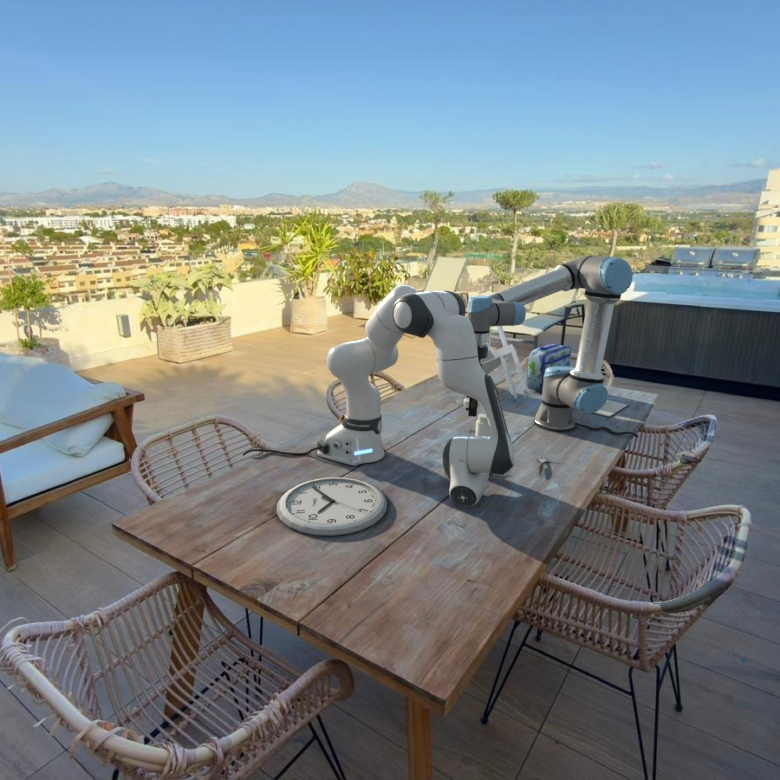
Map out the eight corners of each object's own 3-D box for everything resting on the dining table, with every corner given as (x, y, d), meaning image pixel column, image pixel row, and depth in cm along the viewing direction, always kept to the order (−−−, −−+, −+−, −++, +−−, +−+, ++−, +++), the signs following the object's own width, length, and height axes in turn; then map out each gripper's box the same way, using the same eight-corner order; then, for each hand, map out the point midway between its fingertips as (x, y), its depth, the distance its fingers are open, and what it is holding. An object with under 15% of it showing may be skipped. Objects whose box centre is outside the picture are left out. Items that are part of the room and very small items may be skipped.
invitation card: (608, 416, 214) (573, 407, 224) (608, 416, 214) (573, 408, 224) (628, 404, 229) (594, 396, 238) (628, 405, 229) (594, 397, 238)
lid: (472, 409, 170) (472, 403, 170) (459, 405, 174) (460, 399, 174) (482, 406, 174) (483, 400, 173) (470, 402, 178) (471, 396, 177)
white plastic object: (461, 429, 252) (437, 405, 227) (444, 352, 274) (420, 323, 250) (535, 404, 240) (518, 377, 215) (510, 326, 262) (492, 293, 237)
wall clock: (392, 527, 129) (268, 531, 127) (391, 533, 130) (269, 537, 127) (383, 473, 158) (282, 475, 155) (383, 478, 158) (282, 480, 156)
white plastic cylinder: (485, 469, 165) (489, 412, 160) (490, 476, 161) (495, 417, 155) (470, 470, 165) (474, 413, 159) (475, 477, 160) (480, 418, 154)
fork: (535, 475, 162) (535, 469, 161) (539, 455, 176) (540, 450, 175) (543, 477, 161) (544, 471, 160) (547, 456, 175) (548, 451, 175)
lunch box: (542, 396, 239) (547, 351, 232) (522, 391, 246) (526, 347, 240) (570, 385, 256) (575, 343, 250) (550, 380, 263) (554, 339, 257)
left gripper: (512, 467, 145) (517, 448, 157) (440, 456, 151) (450, 439, 164) (510, 488, 147) (515, 467, 159) (439, 476, 153) (449, 457, 166)
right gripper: (461, 338, 177) (456, 404, 184) (468, 350, 159) (463, 422, 166) (483, 339, 177) (478, 404, 184) (493, 351, 159) (486, 423, 166)
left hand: (482, 453), depth 162 cm, fingers closed on white plastic cylinder, 5 cm apart
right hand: (471, 412), depth 175 cm, fingers closed on lid, 5 cm apart
